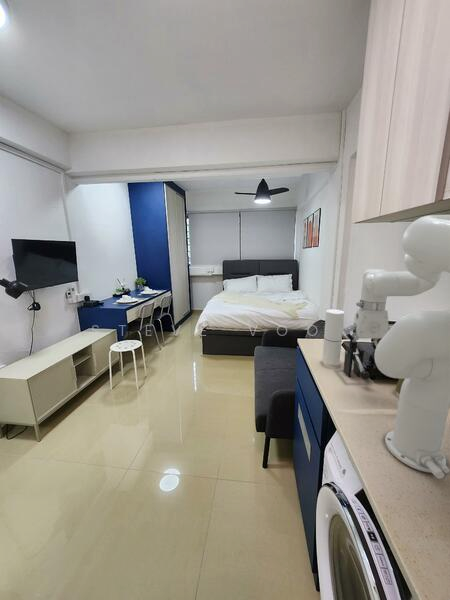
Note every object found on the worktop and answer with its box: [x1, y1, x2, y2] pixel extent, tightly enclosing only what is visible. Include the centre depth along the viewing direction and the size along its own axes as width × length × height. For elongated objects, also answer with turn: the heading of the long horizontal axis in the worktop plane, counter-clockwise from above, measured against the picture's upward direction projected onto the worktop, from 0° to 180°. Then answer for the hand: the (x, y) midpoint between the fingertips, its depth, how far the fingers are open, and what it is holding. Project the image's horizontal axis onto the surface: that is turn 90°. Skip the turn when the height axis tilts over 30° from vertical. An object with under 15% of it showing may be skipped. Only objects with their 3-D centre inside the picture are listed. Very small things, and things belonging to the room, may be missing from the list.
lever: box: [353, 350, 371, 381], centre depth 92 cm, size 13×3×3 cm
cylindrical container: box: [321, 308, 345, 367], centre depth 106 cm, size 7×7×25 cm
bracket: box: [342, 345, 365, 378], centre depth 97 cm, size 10×9×13 cm
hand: (366, 350), depth 87 cm, fingers open, 9 cm apart
